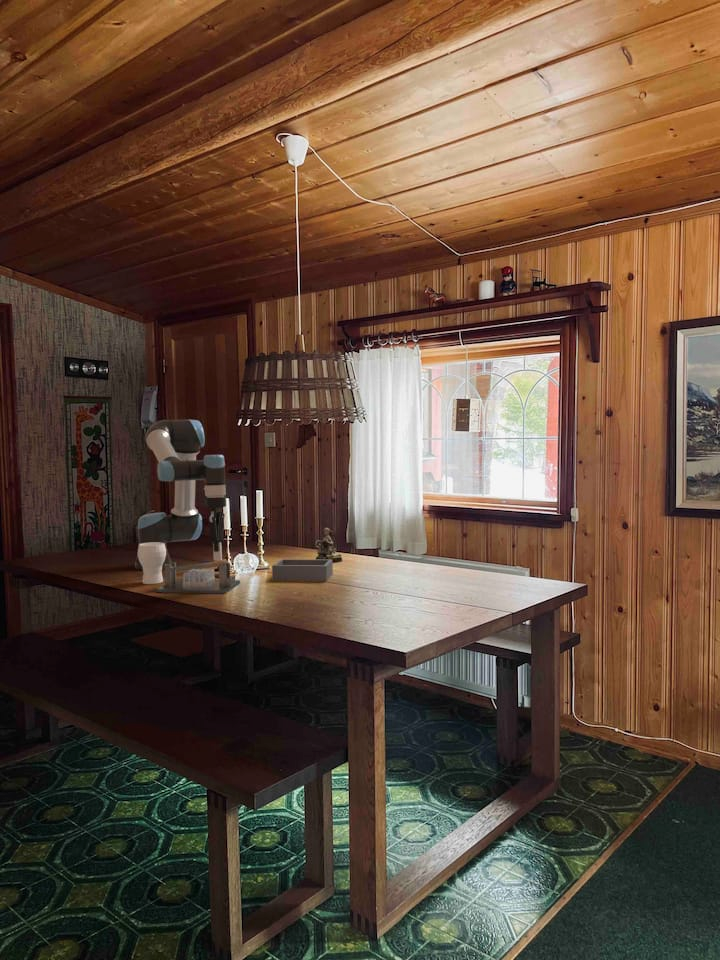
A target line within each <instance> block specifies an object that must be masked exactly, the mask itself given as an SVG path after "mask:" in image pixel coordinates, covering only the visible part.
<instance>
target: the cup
mask: <svg viewBox="0 0 720 960" xmlns="http://www.w3.org/2000/svg"><path fill="white" fill-rule="evenodd" d="M137 548H138V549H137V555H138V559H139V562H140V563H141V565H142V567H143V570H142V572H143V575H142V584H144V585H154V584H161V583H163V582H164V577H163V573H162V571H163V569H162V565H163V563H164V561H165V557H166V548H165V544H164V543H161V542H150V543H142V544H139V543H138V547H137Z"/></svg>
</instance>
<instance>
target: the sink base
mask: <svg viewBox="0 0 720 960" xmlns="http://www.w3.org/2000/svg"><path fill="white" fill-rule="evenodd" d="M171 566H174V567H177V561H171V562H170V564H165V569H164V584H163V585H161V586H160V587H158V588H156V589H155V592H162V594H165V593H167V594H168V593H169V594H171V593H173V594H216V595H217V594H219V595H221V594H223V595H225V594H227V593H229V592H230V591H231V590H233V589H234V588H236V587H237V586H239V585H240V584H241V580H240V579H236V575H231V562H228V563H227V564H222V565H218V579H216V577H215V569H214V568H211V569H210V568H206V569H205V568H201V569H200V568H190V569H189V570H187V571H185V572H183V573H182V579H178V578H177V570H173V571H171Z"/></svg>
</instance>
